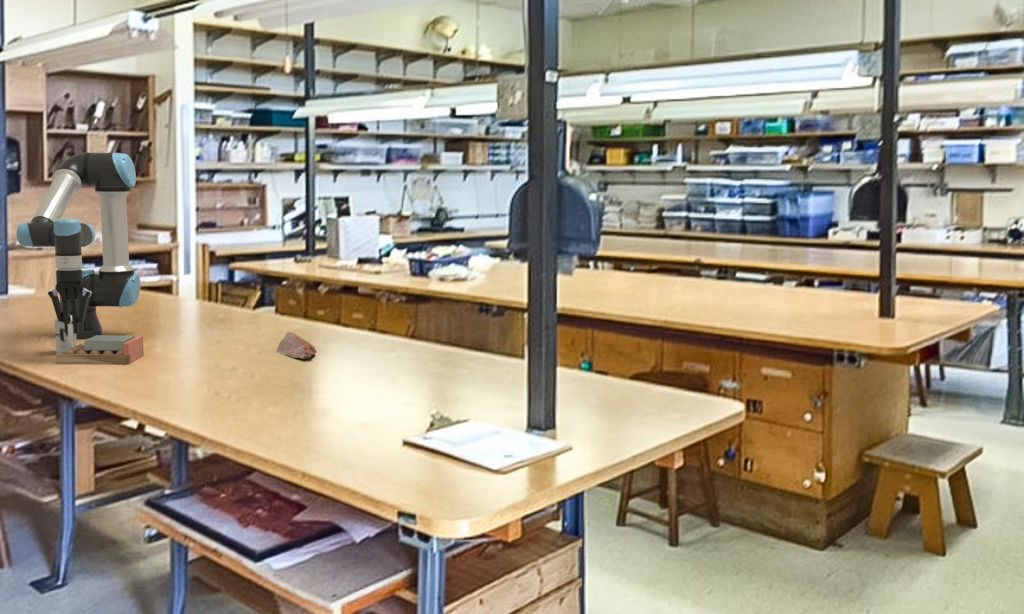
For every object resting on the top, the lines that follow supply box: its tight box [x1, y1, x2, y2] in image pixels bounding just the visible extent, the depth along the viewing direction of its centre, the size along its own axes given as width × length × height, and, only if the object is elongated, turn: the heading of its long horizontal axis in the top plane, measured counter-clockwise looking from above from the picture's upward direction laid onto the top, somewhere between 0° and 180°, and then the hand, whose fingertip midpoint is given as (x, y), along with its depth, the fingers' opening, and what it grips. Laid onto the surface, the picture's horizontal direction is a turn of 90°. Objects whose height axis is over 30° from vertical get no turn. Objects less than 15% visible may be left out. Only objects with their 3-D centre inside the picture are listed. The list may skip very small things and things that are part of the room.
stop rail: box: [123, 335, 144, 365], centre depth 313 cm, size 14×2×6 cm, turn 3°
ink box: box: [54, 315, 76, 354], centre depth 322 cm, size 8×5×12 cm, turn 17°
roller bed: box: [55, 343, 145, 365], centre depth 313 cm, size 14×22×4 cm, turn 93°
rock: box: [276, 331, 317, 360], centre depth 327 cm, size 10×24×10 cm
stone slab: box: [83, 334, 136, 351], centre depth 312 cm, size 10×12×3 cm
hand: (72, 343), depth 312 cm, fingers closed
